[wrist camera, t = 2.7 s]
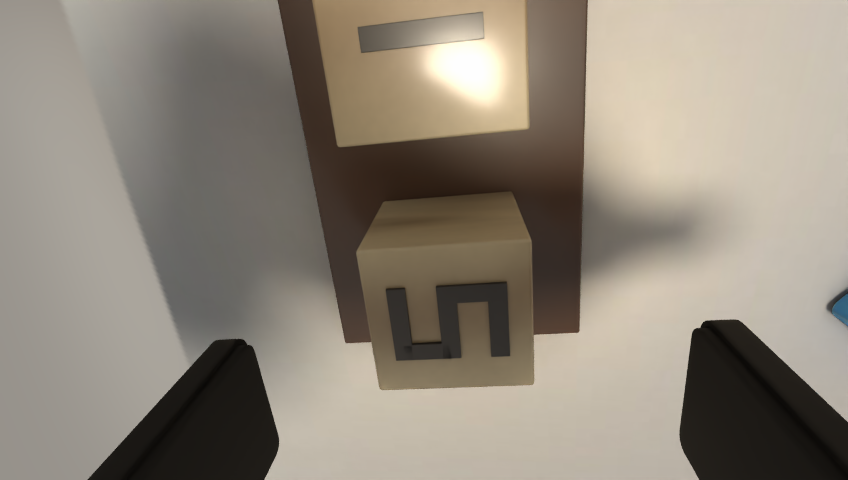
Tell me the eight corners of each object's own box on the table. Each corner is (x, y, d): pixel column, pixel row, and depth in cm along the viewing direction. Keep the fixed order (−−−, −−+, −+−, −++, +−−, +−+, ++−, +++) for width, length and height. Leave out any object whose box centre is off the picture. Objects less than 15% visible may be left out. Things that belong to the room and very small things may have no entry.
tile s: (516, 306, 17) (535, 388, 12) (398, 312, 17) (378, 394, 13) (512, 190, 15) (532, 240, 11) (382, 200, 15) (354, 252, 11)
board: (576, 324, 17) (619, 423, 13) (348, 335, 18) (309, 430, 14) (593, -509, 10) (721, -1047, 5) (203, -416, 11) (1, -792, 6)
